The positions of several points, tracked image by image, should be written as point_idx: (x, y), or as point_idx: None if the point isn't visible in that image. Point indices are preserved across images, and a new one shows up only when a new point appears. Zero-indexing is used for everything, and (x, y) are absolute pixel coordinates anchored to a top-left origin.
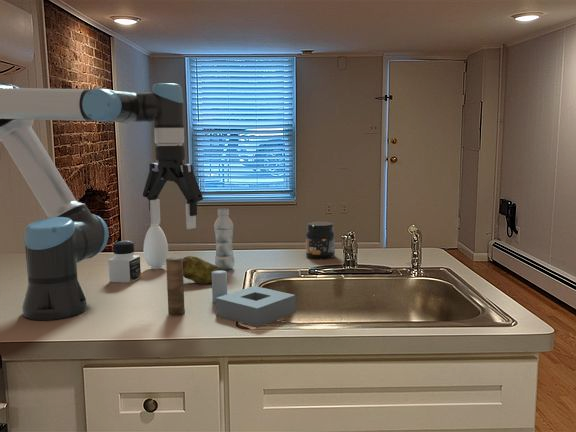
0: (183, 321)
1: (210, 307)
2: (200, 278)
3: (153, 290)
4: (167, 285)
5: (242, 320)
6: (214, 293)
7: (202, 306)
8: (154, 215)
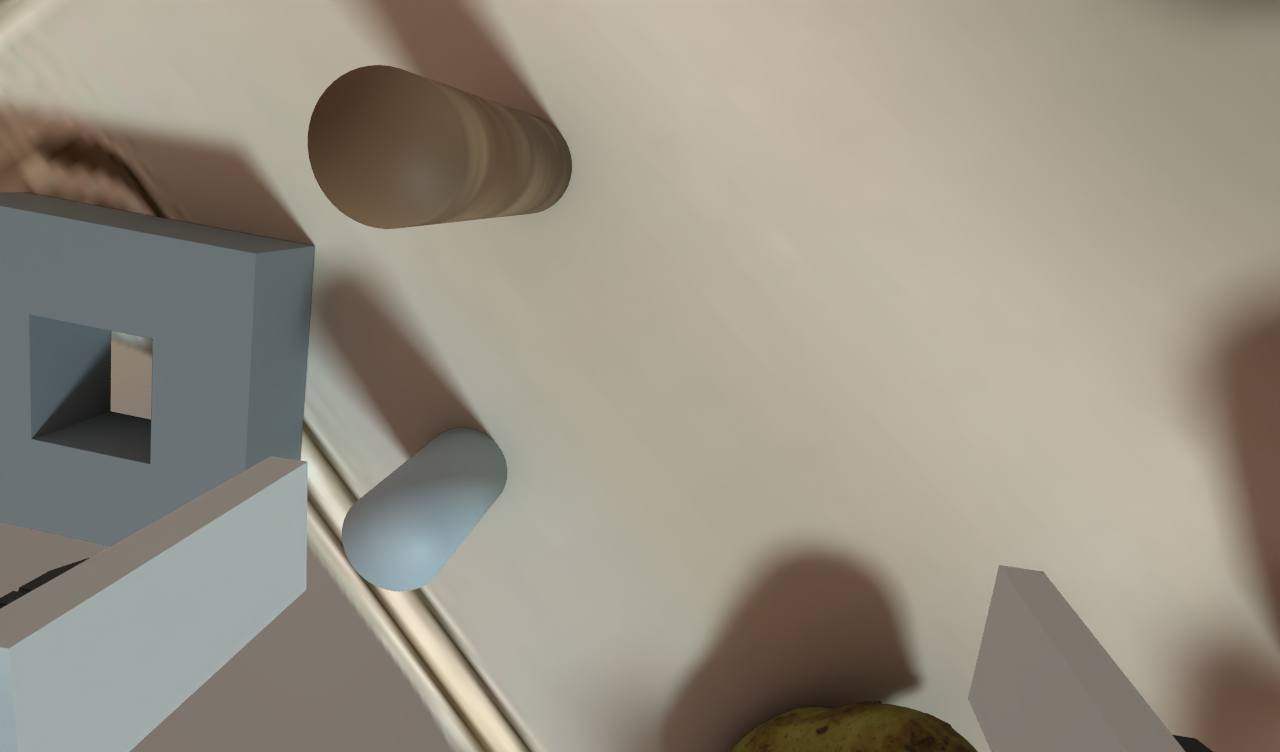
0: None
1: (437, 353)
2: (785, 721)
3: (996, 485)
4: (496, 104)
5: (114, 211)
6: (447, 445)
7: (488, 347)
8: (1038, 680)
